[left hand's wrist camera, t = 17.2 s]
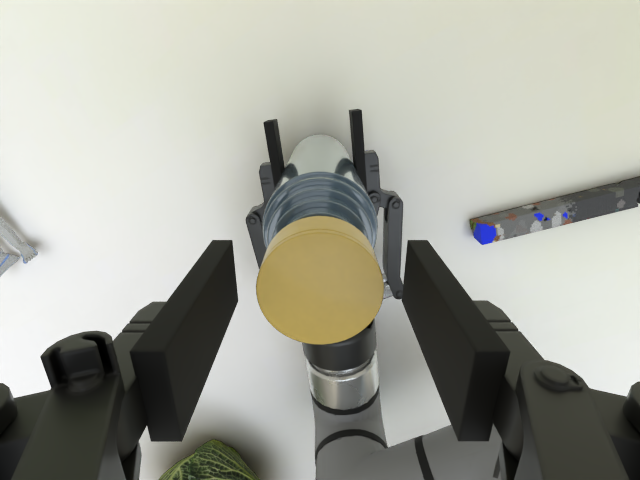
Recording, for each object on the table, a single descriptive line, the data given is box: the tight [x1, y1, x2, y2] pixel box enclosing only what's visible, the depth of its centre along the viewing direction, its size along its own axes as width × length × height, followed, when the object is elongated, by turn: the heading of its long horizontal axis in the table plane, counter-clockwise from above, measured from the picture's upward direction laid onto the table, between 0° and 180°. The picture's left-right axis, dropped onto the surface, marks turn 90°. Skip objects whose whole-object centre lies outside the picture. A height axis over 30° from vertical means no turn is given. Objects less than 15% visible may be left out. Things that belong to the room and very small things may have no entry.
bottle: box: [263, 134, 377, 249], centre depth 25 cm, size 6×6×25 cm
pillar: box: [470, 177, 640, 245], centre depth 37 cm, size 2×2×20 cm
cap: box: [256, 216, 384, 344], centre depth 14 cm, size 5×5×2 cm
